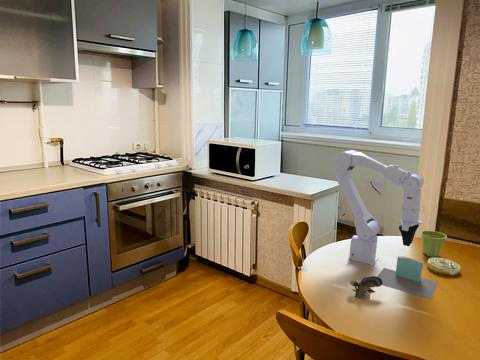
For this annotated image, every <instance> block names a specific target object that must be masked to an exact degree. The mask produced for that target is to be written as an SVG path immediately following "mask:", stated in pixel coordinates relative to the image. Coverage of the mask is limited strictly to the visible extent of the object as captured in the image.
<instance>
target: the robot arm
mask: <svg viewBox="0 0 480 360" xmlns="http://www.w3.org/2000/svg"><path fill="white" fill-rule="evenodd" d="M333 163H334V169H335V170H334V174H335V175H334V176H335V179H336V181H337V184H338V185H339V187H340V189H341V192H342V194H343V196H344V198H345V201H346V202H347V205H348V206H349V208H350V211H351V213H352V214H353V216H354V223H353V224H354V227H355V233H356V235H355V234H354V235H353V236H352V237H351V240H350V246H349V255H348V256H349V257H348V260H351V261H355V262H356V261H357V262H360V263H365V264H367V265H372V266H373V265H374V264H375V263H376V262H377V261H378V260H379V257H378V256H377V247H378V245H377V244H378V235H377V234H379V233H380V231H381V224H380V223H379V221H378V220H377V219H376V218H375V217H374V216H373V214H372V213H370V212H369V211H368V209H367V207H366V206H365V203H364V201H363V199H362V197H361V195H360V193H359V190H358V189H357V187H356V185H355V183H354V180H353V179H352V176H351V175H352V174H353V171H354V169H355V167H358V166H359V167H361V166H363V167H365V168H367V169H370V170H372V171H375V172H377V173H378V174H382V177H383V179H385V180H386V181H389V182H390V183H392V184H394V185H396V186H399V187H401V188H402V190H403V192H402V193H403V194H402V202H401V203H402V205H401V215H400V220H399V222H400V223H401V224H400V225H399V226H398V230H399V231H400V234H401V238H402V245H403V246H406V247H410V246H411V245H412V243H413V241H414V238H415V234H416V232H417V229H418V228H420V225H422V224H423V221H422V220H420V210H421V198H422V196H421V195H422V187H423V186H424V184H425V183H424V182H425V181H424V178H423V177H422V175H420V174H419V173H412V171H410V170H408V171H407V170H405V169H402V168H401V167H399V166H400V165H398V164H389V165H386V164H384V163H382V162H380V161H379V160H376V159H374V158H372V157H371V156H368V155H367V154H364V153H363V152H360V151H357V150H355V149H349V150H347V151H341V152H338V153H337V155H336V157H335V158H334V160H333Z"/></svg>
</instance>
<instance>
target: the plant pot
mask: <svg viewBox="0 0 480 360" xmlns="http://www.w3.org/2000/svg"><path fill="white" fill-rule="evenodd" d="M420 234H421V239H422V254H424V255H425V256H428V257H430V258H435V257H436V258H439V257H440V255H441V251H442V248H443V246H444V244H445V243H444V242H445V241H446V239H447V238H448V237H447V234H445V233H443V232H440V231H434V230H422V231H420Z"/></svg>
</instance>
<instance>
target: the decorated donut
mask: <svg viewBox="0 0 480 360" xmlns="http://www.w3.org/2000/svg"><path fill="white" fill-rule="evenodd" d="M426 266H427V268H428V270H430V271H432V272H433V273H436V274H439V275H444V276H458V275H459V274H461V273H460V272H461V265H459V264H458V263H457V262H455V261H453V260H450V259H447V258H443V257H437V256H435V257H430V258H428V259H427V261H426Z"/></svg>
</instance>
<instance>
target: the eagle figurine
mask: <svg viewBox="0 0 480 360" xmlns="http://www.w3.org/2000/svg"><path fill="white" fill-rule="evenodd" d="M382 283H383V282H382V280H381V279H380V278H379V277H377V276H375V275H372V276H367V277H363V278H362V279H361V280H360V282H358V281H357V280H354V279H353V280H350V281H349V284H350V285H351V286H352V287H354V289H353V288H352V289H351V290H352V291H353V292H354V293H355V294H354V297H356V298H357V297H358V296H359V295H360V293H363V294H365V295H366V296H367V297H368V298H369V299H370V298H371V294H370V291H371V292H375V293H376V291H375V290H374V289H373V288H378V287H382V286H383V285H382Z"/></svg>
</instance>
